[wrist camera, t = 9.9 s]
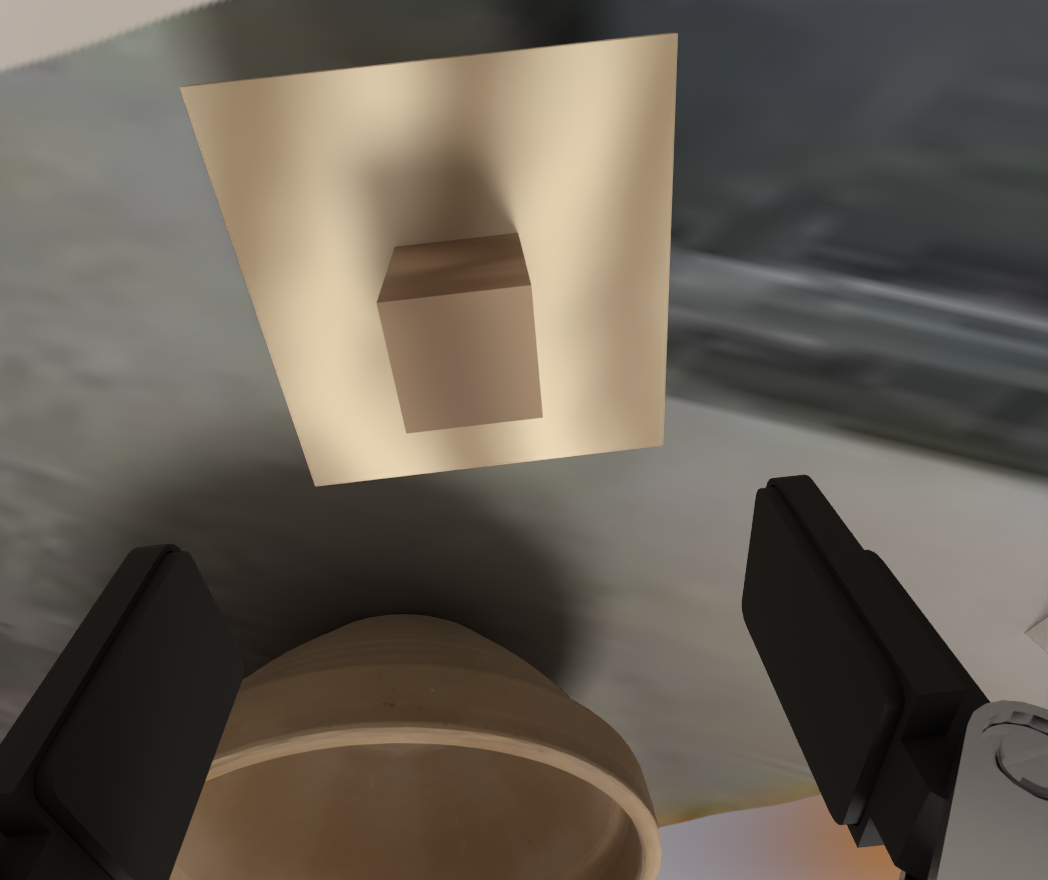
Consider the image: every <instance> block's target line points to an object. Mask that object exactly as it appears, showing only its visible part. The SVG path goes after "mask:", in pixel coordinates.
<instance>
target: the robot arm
mask: <svg viewBox="0 0 1048 880" xmlns="http://www.w3.org/2000/svg"><path fill="white" fill-rule="evenodd" d="M742 612H743V617H744V621H745V623H746V626H747V628H748V630H749V633H750V635H751V637H752V639H753V642H754V644H755V646H756V648H757V651H758V653H759V655H760V657H761V660H762V662H763V664H764V666H765V669H766V671H767V673H768V675H769V678H770V680H771V682H772V684H773V687H774V689H775V691H776V693H777V696H778V698H779V700H780V702H781V705H782V707H783V709H784V711H785V714H786V716H787V718H788V720H789V722H790V725H791V727H792V729H793V731H794V734H795V736H796V738H797V740H798V743H799V745H800V747H801V749H802V752H803V754H804V756H805V758H806V761H807V763H808V765H809V767H810V770H811V772H812V774H813V776H814V779H815V781H816V783H817V785H818V788H819V790H820V792H821V794H822V797H823V799H824V801H825V803H826V806H827V808H828V810H829V812H830V814H831V816H832V818H833V819H834V821H835V822H836V823H837V824H839V825H846V824H847V826H848V828H849V830H850V832H851V834H852V837H853V839H854V841H855V843H856V845H857V847H858V848H859V847H868V846H877V845H885V847H886V849H887V851H888V853H889V855H890V857H891V859H892V861H893V863H894V865H895V866H896V867H898V868H900V869H901V873H900V878H899V880H1048V710H1047V709H1045V708H1042V707H1038V706H1035V705H1032V704H1028V703H1025V702H1018V701H1006V700H1001V701H996V702H991V703H990V701H989V700H988V699H987V697H986V696H985V695H984V693H983V692H982V691H981V689H980V688H979V687H978V685H977V684H976V683H975V682H974V680H973V679H972V678H971V676H970V675H969V674H968V672H967V671H966V670H965V668H964V667H963V666H962V664H961V663H960V662H959V660H958V659H957V658H956V656H955V655H954V654H953V652H952V651H951V650H950V649H949V647H948V646H947V645H946V643H945V642H944V641H943V639H942V638H941V637H940V635H939V634H938V633H937V631H936V630H935V629H934V627H933V626H932V625H931V623H930V622H929V621H928V619H927V618H926V617H925V615H924V614H923V613H922V612H921V610H920V609H919V608H918V606H917V605H916V604H915V602H914V601H913V600H912V598H911V597H910V596H909V594H908V593H907V592H906V590H905V589H904V588H903V586H902V585H901V584H900V582H899V581H898V580H897V579H896V577H895V576H894V575H893V573H892V572H891V571H890V569H889V568H888V567H887V565H886V564H885V563H884V561H883V560H882V559H881V558H880V557H879V556H878V555H877V554H876V553H874V552H872V551H870V550H864V549H863V548H862V547H861V545H860V544H859V542H858V541H857V540H856V538H855V537H854V536H853V534H852V533H851V532H850V530H849V529H848V528H847V526H846V525H845V523H844V522H843V521H842V519H841V518H840V517H839V515H838V514H837V513H836V511H835V510H834V509H833V507H832V506H831V504H830V503H829V502H828V500H827V499H826V498H825V496H824V495H823V494H822V492H821V491H820V490H819V488H818V487H817V485H816V484H815V483H814V481H813V480H812V479H811V478H810V477H809V476H807V475H798V476H788V477H779V478H772V479H769V481H768V483H767V486H766V488H760V489H758V491H757V494H756V500H755V507H754V514H753V522H752V529H751V537H750V544H749V552H748V559H747V567H746V574H745V582H744V589H743V596H742ZM243 676H244V659H243V656H242V654H241V652H240V650H239V648H238V646H237V644H236V642H235V640H234V638H233V636H232V634H231V632H230V630H229V628H228V626H227V624H226V623H225V621H224V619H223V617H222V615H221V613H220V611H219V609H218V607H217V605H216V603H215V601H214V599H213V597H212V595H211V593H210V591H209V589H208V587H207V585H206V584H205V582H204V580H203V578H202V576H201V574H200V572H199V570H198V568H197V566H196V564H195V562H194V560H193V558H192V557H191V555H190V554H189V553H188V552H184V551H183V552H182V551H181V550H180V549H179V547H177V546H176V545H174V544H165V545H156V546H147V547H138V548H135V549H133V550H132V551H131V552H130V553H129V554H128V555H127V557H126V558H125V560H124V561H123V563H122V564H121V566H120V567H119V569H118V570H117V572H116V573H115V575H114V576H113V578H112V579H111V581H110V582H109V584H108V585H107V586H106V588H105V589H104V591H103V592H102V594H101V595H100V597H99V598H98V600H97V601H96V603H95V604H94V606H93V607H92V609H91V610H90V612H89V613H88V615H87V616H86V618H85V619H84V621H83V622H82V624H81V625H80V627H79V628H78V630H77V631H76V633H75V634H74V636H73V637H72V639H71V640H70V641H69V643H68V644H67V646H66V647H65V649H64V650H63V652H62V653H61V655H60V656H59V658H58V659H57V661H56V662H55V664H54V665H53V667H52V668H51V670H50V671H49V673H48V674H47V676H46V677H45V679H44V680H43V682H42V683H41V685H40V686H39V688H38V689H37V691H36V692H35V694H34V695H33V696H32V698H31V699H30V701H29V702H28V704H27V705H26V707H25V708H24V710H23V711H22V713H21V714H20V716H19V717H18V719H17V720H16V722H15V723H14V725H13V726H12V728H11V729H10V731H9V732H8V734H7V735H6V737H5V738H4V740H3V741H2V743H1V744H0V880H169V879H170V876H171V873H172V871H173V868H174V865H175V862H176V860H177V857H178V854H179V852H180V849H181V846H182V843H183V841H184V838H185V835H186V832H187V830H188V827H189V824H190V822H191V819H192V816H193V813H194V811H195V808H196V805H197V802H198V800H199V797H200V794H201V792H202V789H203V786H204V783H205V781H206V778H207V775H208V773H209V770H210V767H211V764H212V762H213V759H214V756H215V753H216V751H217V748H218V745H219V743H220V740H221V737H222V734H223V732H224V729H225V726H226V723H227V721H228V718H229V715H230V713H231V710H232V707H233V704H234V702H235V699H236V696H237V693H238V691H239V688H240V685H241V683H242V680H243Z"/></svg>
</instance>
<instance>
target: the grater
mask: <svg viewBox="0 0 1048 880" xmlns="http://www.w3.org/2000/svg"><path fill="white" fill-rule="evenodd" d="M1025 634H1026V635H1027V636H1028V637H1030V638H1031V639H1032V640H1033V641H1034V642H1035V643H1036V644H1038V645H1039V646H1040V647H1041V648H1042V649H1043V650H1044V651H1046V652H1047V653H1048V617H1047V618H1045V619H1044V620H1042V621H1041V622H1039V623H1038V624H1037V625H1035V626H1034V627H1032V628H1031V629H1030V630H1028V631H1027V632H1025Z"/></svg>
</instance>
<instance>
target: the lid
mask: <svg viewBox="0 0 1048 880" xmlns="http://www.w3.org/2000/svg"><path fill="white" fill-rule="evenodd" d="M677 43H678V33H663V34H654V35H645V36H636V37H627V38H617V39H608V40H599V41H590V42H581V43H572V44H562V45H553V46H544V47H535V48H526V49H517V50H507V51H498V52H489V53H480V54H471V55H461V56H452V57H443V58H434V59H425V60H416V61H406V62H397V63H388V64H379V65H370V66H361V67H351V68H342V69H333V70H324V71H315V72H305V73H296V74H287V75H278V76H269V77H260V78H250V79H241V80H232V81H223V82H214V83H205V84H195V85H189V86H184V87H179V88H180V90H181V93H182V96H183V99H184V102H185V105H186V108H187V111H188V114H189V117H190V120H191V123H192V126H193V129H194V132H195V135H196V137H197V140H198V143H199V146H200V149H201V152H202V155H203V158H204V161H205V164H206V167H207V170H208V173H209V176H210V179H211V182H212V185H213V187H214V190H215V193H216V196H217V199H218V202H219V205H220V208H221V211H222V214H223V217H224V220H225V223H226V226H227V229H228V232H229V235H230V237H231V240H232V243H233V246H234V249H235V252H236V255H237V258H238V261H239V264H240V267H241V270H242V273H243V276H244V279H245V282H246V284H247V287H248V290H249V293H250V296H251V299H252V302H253V305H254V308H255V311H256V314H257V317H258V320H259V323H260V326H261V329H262V332H263V334H264V337H265V340H266V343H267V346H268V349H269V352H270V355H271V358H272V361H273V364H274V367H275V370H276V373H277V376H278V379H279V381H280V384H281V387H282V390H283V393H284V396H285V399H286V402H287V405H288V408H289V411H290V414H291V417H292V420H293V423H294V426H295V429H296V431H297V434H298V437H299V440H300V443H301V446H302V449H303V452H304V455H305V458H306V461H307V464H308V467H309V470H310V473H311V476H312V479H313V481H314V484H315V487H316V486H324V485H333V484H341V483H350V482H358V481H367V480H375V479H383V478H392V477H400V476H409V475H417V474H426V473H434V472H443V471H451V470H460V469H468V468H476V467H485V466H493V465H502V464H510V463H519V462H527V461H536V460H544V459H553V458H561V457H569V456H578V455H586V454H595V453H603V452H612V451H620V450H629V449H637V448H646V447H654V446H662V445H663V437H664V409H665V381H666V353H667V325H668V297H669V268H670V240H671V212H672V184H673V156H674V127H675V99H676V71H677Z"/></svg>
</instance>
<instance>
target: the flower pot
mask: <svg viewBox="0 0 1048 880" xmlns="http://www.w3.org/2000/svg"><path fill="white" fill-rule="evenodd" d="M661 859H662V842H661V838H660V833H659V829H658V824H657V820H656V816H655V812H654V808H653V804H652V801H651V798H650V795H649V792H648V789H647V785H646V782H645V779H644V776H643V773H642V770H641V768H640V765H639V763H638V761H637V759H636V757H635V755H634V754H633V752H632V751H631V749H630V747H629V746H628V745H627V743H626V742H625V741H624V740H623V738H622V737H621V736H620V735H619V734H618V733H617V732H616V731H615V730H614V729H613V728H612V727H611V726H610V725H609V724H608V723H606V722H605V721H604V720H603V719H601V718H600V717H599V716H597V715H596V714H594V713H593V712H592V711H590V710H589V709H587V708H586V707H584V706H582V705H581V704H579V703H577V702H575V701H574V700H572V699H570V698H569V696H568V695H567V694H566V693H565V692H564V691H563V690H562V689H561V688H560V687H558V686H557V685H556V684H555V683H553V682H552V681H551V680H549V679H548V678H546V677H545V676H544V675H543V674H542V673H540V672H539V671H538V670H537V669H535V668H534V667H533V666H531V665H530V664H529V663H527V662H526V661H524V660H523V659H521V658H520V657H518V656H517V655H515V654H513V653H512V652H510V651H508V650H507V649H505V648H503V647H502V646H500V645H498V644H496V643H494V642H493V641H491V640H489V639H487V638H485V637H482V636H481V635H479V634H478V633H476V632H474V631H473V630H471V629H469V628H467V627H464V626H462V625H460V624H458V623H455V622H452V621H448V620H445V619H441V618H436V617H431V616H424V615H412V614H395V615H384V616H377V617H370V618H366V619H362V620H359V621H355V622H352V623H349V624H347V625H345V626H342V627H340V628H338V629H336V630H334V631H332V632H330V633H327V634H324V635H322V636H319V637H317V638H315V639H313V640H310V641H308V642H306V643H304V644H302V645H300V646H298V647H296V648H294V649H292V650H290V651H288V652H286V653H285V654H283V655H281V656H279V657H278V658H276V659H274V660H272V661H271V662H269V663H268V664H266V665H265V666H263V667H261V668H260V669H258V670H257V671H256V672H254V673H253V674H251V675H250V676H248V677H246V678H245V679H243V680H242V683H241V685H240V688H239V691H238V693H237V696H236V699H235V702H234V704H233V707H232V710H231V713H230V715H229V718H228V721H227V723H226V726H225V729H224V732H223V734H222V737H221V740H220V743H219V745H218V748H217V751H216V753H215V756H214V759H213V762H212V764H211V767H210V770H209V773H208V775H207V778H206V781H205V783H204V786H203V789H202V792H201V794H200V797H199V800H198V802H197V805H196V808H195V811H194V813H193V816H192V819H191V822H190V824H189V827H188V830H187V832H186V835H185V838H184V841H183V843H182V846H181V849H180V852H179V854H178V857H177V860H176V862H175V865H174V868H173V871H172V873H171V876H170V879H169V880H656V878H657V875H658V872H659V869H660V865H661Z"/></svg>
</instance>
